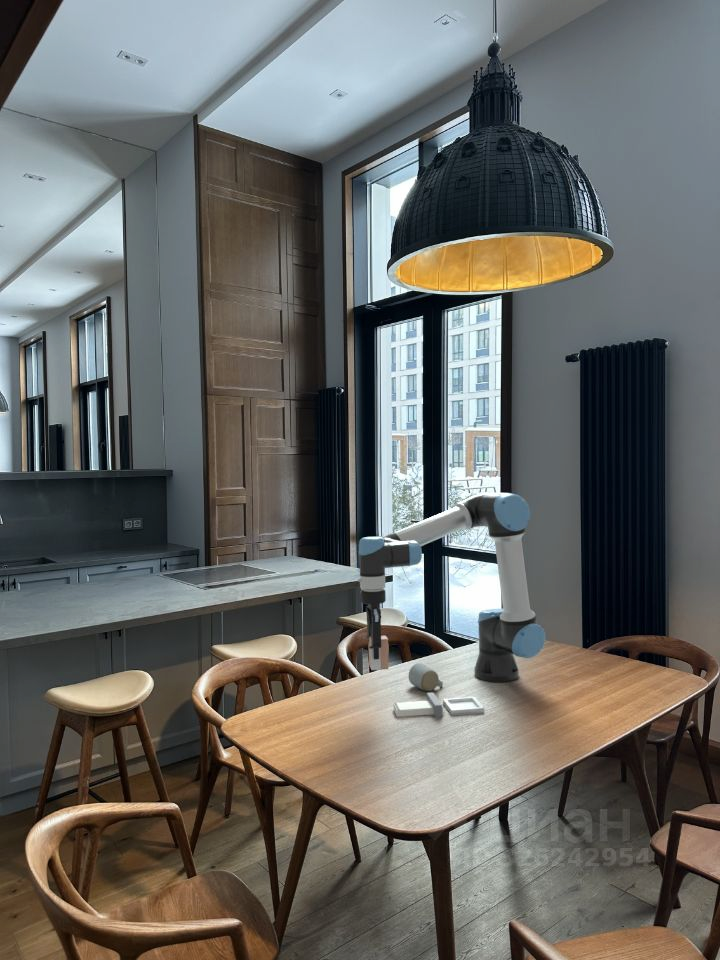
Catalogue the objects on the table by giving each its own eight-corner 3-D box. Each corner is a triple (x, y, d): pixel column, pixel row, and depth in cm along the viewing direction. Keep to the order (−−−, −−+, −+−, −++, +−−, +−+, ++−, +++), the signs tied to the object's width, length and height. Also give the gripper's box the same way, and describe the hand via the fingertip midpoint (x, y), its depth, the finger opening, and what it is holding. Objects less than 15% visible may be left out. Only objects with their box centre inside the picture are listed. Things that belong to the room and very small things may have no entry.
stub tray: (474, 701, 214) (474, 696, 214) (484, 712, 204) (484, 707, 204) (443, 703, 213) (443, 698, 213) (451, 715, 203) (451, 710, 203)
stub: (386, 665, 207) (385, 635, 207) (388, 669, 203) (388, 639, 203) (369, 666, 206) (369, 636, 206) (371, 670, 202) (371, 639, 202)
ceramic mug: (422, 694, 222) (422, 670, 221) (408, 687, 229) (407, 664, 228) (448, 688, 227) (448, 665, 227) (433, 682, 234) (433, 659, 234)
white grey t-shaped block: (436, 703, 213) (436, 692, 213) (445, 716, 202) (445, 704, 202) (392, 706, 211) (391, 695, 211) (398, 720, 200) (398, 708, 200)
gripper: (356, 584, 212) (358, 659, 212) (364, 595, 195) (366, 676, 195) (380, 583, 213) (382, 658, 213) (390, 594, 196) (392, 675, 196)
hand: (374, 666), depth 204 cm, fingers closed on stub, 4 cm apart
